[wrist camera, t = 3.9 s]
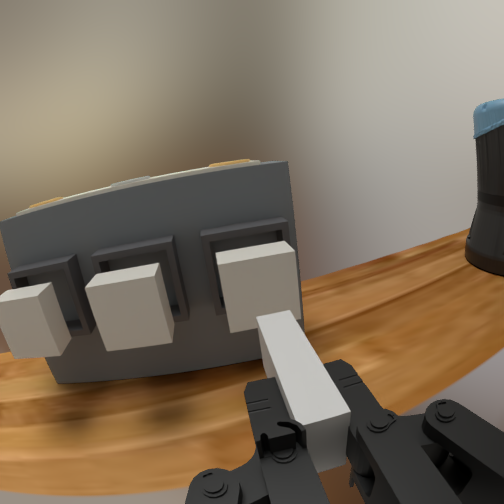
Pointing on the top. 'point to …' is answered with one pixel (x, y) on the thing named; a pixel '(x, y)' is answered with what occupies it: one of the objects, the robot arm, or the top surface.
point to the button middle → (131, 307)
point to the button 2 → (258, 283)
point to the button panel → (153, 260)
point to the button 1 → (33, 322)
